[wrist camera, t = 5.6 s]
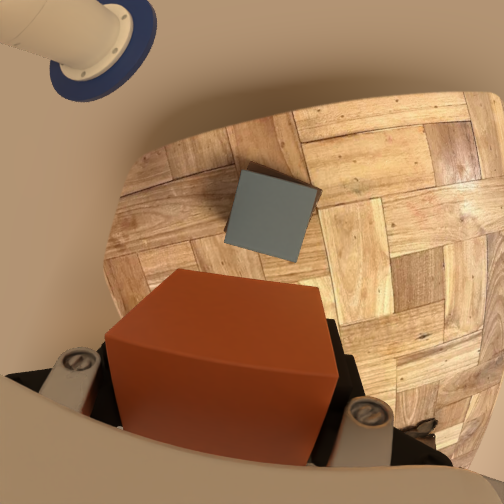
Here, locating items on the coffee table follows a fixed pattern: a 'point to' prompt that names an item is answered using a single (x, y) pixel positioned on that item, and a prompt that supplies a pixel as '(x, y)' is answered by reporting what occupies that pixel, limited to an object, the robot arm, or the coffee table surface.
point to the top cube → (225, 367)
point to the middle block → (270, 215)
